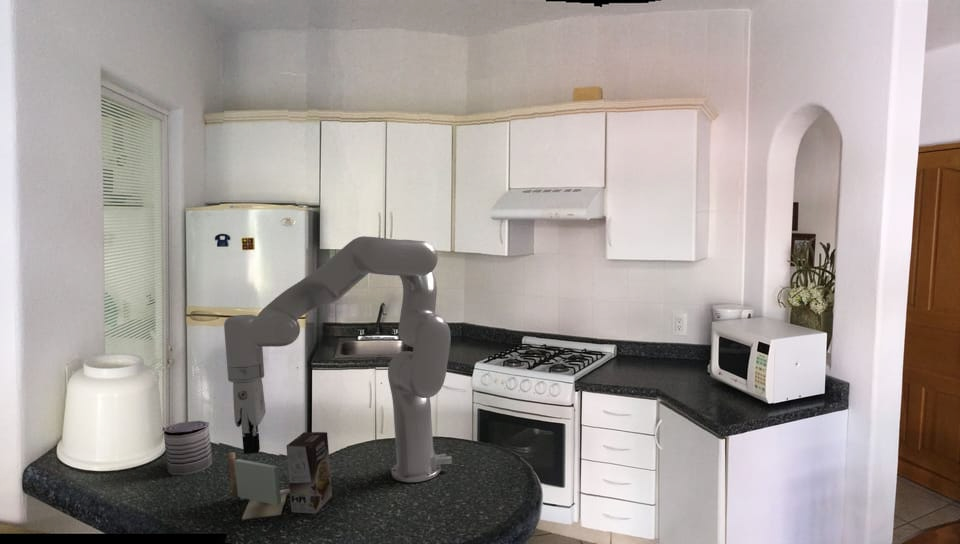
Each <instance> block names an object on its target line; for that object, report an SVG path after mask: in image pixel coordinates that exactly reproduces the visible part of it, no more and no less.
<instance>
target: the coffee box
mask: <svg viewBox="0 0 960 544" xmlns="http://www.w3.org/2000/svg"><path fill="white" fill-rule="evenodd" d="M285 448H286V459H287V460H286V461H287V470H288V471H287V473H288V481H289V489H290V494H289V496H290V497H289V498H290V507H291V513H295V514H297V513H298V514H311V515H315V514H317V513H318V512H319V511H320V510H321V509H322V508H323V507H324V506H325V504H327V503H328V502H329V500H330V499H331V498H332V497H333V488H332V485H333V484H332V477H331V475H332V474H331V463H330V451H329V448H330V447H329V438H328V432H324V431H316V432H315V431H313V432H309V431H308V432H307V431H306V432H305V431H304V432H302V433H301V434H299V435H298V436H297V437H296V438H294V439H293V440H292V441H290V442H289V443H288V444H287V445H286V447H285Z"/></svg>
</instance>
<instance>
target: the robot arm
mask: <svg viewBox="0 0 960 544" xmlns="http://www.w3.org/2000/svg"><path fill="white" fill-rule="evenodd" d="M438 260H439V259H438V253H437V250H436V249H435V247H434V246H433V245H432V244H431V243H429V242H426V241H423V240H412V239H393V238H387V237H386V238H384V237H377V236H376V237H375V236H358V237H356V238H354V239H352V240H351V241H349V242H348V243H347V244H346V245H345V246H343V247H342V248H341V249H339V251H337V252H336V253H335V254H334V255H333V256H331V258H329V259H328V260H327V261H326V262H324V263H323V264H322V265H321V266H320V267H319V268H318V269H316V270H315V271H313V272H312V273H311V274H309V275H308V276H306V277H303V278H302V279H301V280H300V281H297V282H296V283H295V284H294V285H292V286H290V287H288V288H287V289H286V290H284V291H283V292H281V293H280V294H278V296H276V297H275V298H274V299H273V300H272V301H270V302H269V303H268V304H266V306H265V307H264V308H263V309H261V311H260V312H259V313H258V314H257V315H254V314H237V315H234V316H230V317H228V318H226V319H225V321H224V323H223V326H224V327H223V330H224V332H223V333H224V341H225V342H224V343H225V345H224V346H225V355H226V357H225V358H226V371H227V380H228V382H230V383H232V388H233V389H232V394H233V395H232V397H233V398H232V400H233V415H234V416H233V417H234V423H235V426H236V427H238V428H240V427H241V434H242V435H241V436H242V448H243V454H244V455H249V454H250V455H251V454H258V453H259V452H260V450H261V445H260V443H261V442H260V433H259V425H260V424H261V422H262V421H263V419H264V418H265V415H266V402H265V392H264V384H263V380H262V379H263V378H264V377H265V366H264V351H263V350H264V349H263V347H264V348H265V347H267V348H268V347H276V348H277V347H287V346H288V345H291V344H293V343H294V342H295V341H297V339H299V338H298V337H299V336H300V332H301V326H300V323H299V321H298V320H299V319H300V318H302V317H303V316H305V315H306V314H307V313H309V312H310V311H313V310H314V309H317V308H319V307H322V306H326V305H329V304H332V303H335V302H337V301H339V300H340V299H341V298H342V297H344V296H345V295H346V294H347V293H348V292H349V291H350V290H351V289H352V288H354V287H355V285H357V284H358V283H359V282H361V280H363V279H364V278H365V277H366V276H367V275H368V274H375V275H384V276H399V278H400V280H401V283H402V301H401V302H402V303H401V309H400V317H399V322H398V331H397V334H398V338H399V340H400V341H401V342H402V343H403V344H404V345H406V346H409V347H411V348H412V349H413V350H412V351H409V350H406V351H400V352H398V353H397V354H395V355H394V356H393V357H392V358H391V360H390V362H389V363H388V367H387V378H388V379H387V380H388V385H389V388H390V393H391V399H392V407H393V411H392V412H393V423H394V424H393V425H394V426H393V427H394V439H395V455H396V464H395V465H394V466H393V467H392V468H391V476H392V478H394V479H395V480H396V481H400V482H403V483H420V482H424V481H428V480H431V479H433V478H435V477H437V476H438V475H439V474H440V472H441V470H442V468H441V465H449V464H453V457H452V455H447V453H441V454H437V453H436V452H435V449H434V439H433V437H434V436H433V424H432V423H433V421H432V406H431V405H432V404H431V398H433V397H435V396H436V395H437V394H438V393H439V392H440V391H441V390H442V388H443V386H444V383H445V380H446V376H447V369H448V362H449V356H450V349H451V340H452V339H451V330H450V326H449V323H448V322H447V320H446V319H445V318H444V317H442V316H441V315H438V314H436V306H437V296H438V295H437V294H438V291H437V290H438V288H437V281H436V277H435V273H434V272H433V271H434V270H435V268H436V266H437V264H438Z"/></svg>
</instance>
